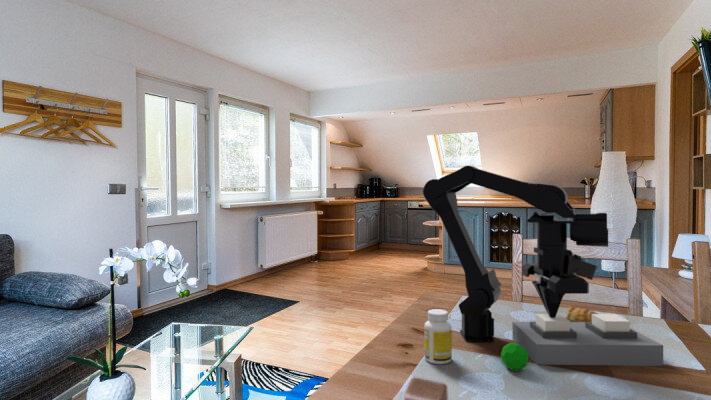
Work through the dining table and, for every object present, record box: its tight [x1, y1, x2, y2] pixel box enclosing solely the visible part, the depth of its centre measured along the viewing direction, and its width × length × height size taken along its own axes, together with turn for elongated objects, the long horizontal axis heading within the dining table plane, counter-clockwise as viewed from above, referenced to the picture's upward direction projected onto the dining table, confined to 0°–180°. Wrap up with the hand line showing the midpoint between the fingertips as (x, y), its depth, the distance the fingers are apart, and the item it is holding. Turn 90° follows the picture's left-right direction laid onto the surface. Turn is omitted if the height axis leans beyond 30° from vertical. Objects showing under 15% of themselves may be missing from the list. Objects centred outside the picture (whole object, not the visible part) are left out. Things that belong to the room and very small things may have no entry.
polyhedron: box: [500, 342, 530, 372], centre depth 77 cm, size 5×5×5 cm
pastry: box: [565, 306, 598, 322], centre depth 103 cm, size 9×7×4 cm
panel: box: [511, 321, 664, 367], centre depth 85 cm, size 24×14×5 cm, turn 87°
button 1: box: [535, 313, 570, 331], centre depth 85 cm, size 5×5×3 cm
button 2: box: [592, 313, 631, 332], centre depth 85 cm, size 5×5×3 cm
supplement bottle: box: [423, 308, 453, 365], centre depth 82 cm, size 5×5×10 cm
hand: (552, 317), depth 85 cm, fingers closed
